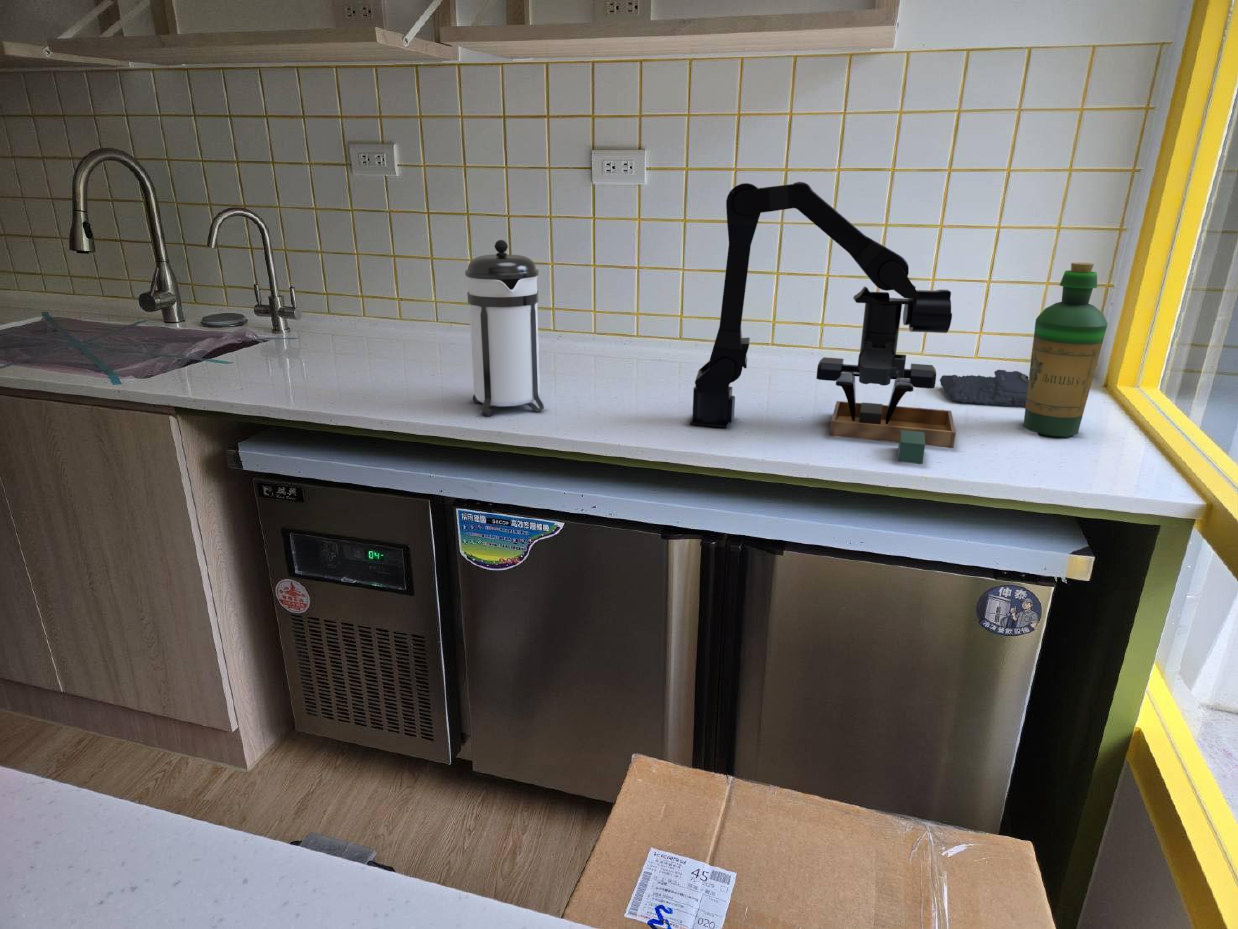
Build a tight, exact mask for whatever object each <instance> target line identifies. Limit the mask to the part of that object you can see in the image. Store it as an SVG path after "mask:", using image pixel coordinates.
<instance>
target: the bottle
mask: <svg viewBox="0 0 1238 929" xmlns="http://www.w3.org/2000/svg"><path fill="white" fill-rule="evenodd" d="M1093 268H1094V263H1090V262H1071V263H1070V269H1069V270H1065V271H1064V273H1063V275H1062V278H1061V280H1060V283H1059V287H1062V292H1061V301H1059V302H1054V303H1053V304H1051V305H1049V306H1047V307H1045V308H1044V309H1043V310H1042V311H1041V312H1040V313H1039V315H1038V316H1037V317H1036V319H1035V323H1034V332H1033V340H1032V349H1031V356H1030V357H1031V358H1030V365H1029V375H1028V377H1029V378H1028V379H1029V382H1028V390H1027V399H1026V407H1024V408H1025V409H1024V416H1023V424H1022V426H1023V427H1024V428H1025V429H1027V430H1028V431H1031V432H1034V433H1037V435H1040V436H1045V437H1051V438H1068V437H1072V436H1075V435H1078V434H1079V431H1080V428H1081V423H1082V419H1083V416H1084V412H1085V410H1086V409H1085V408H1086V405H1087V402H1088V398H1089V394H1090V390H1091V388H1092V383H1093V379H1094V376H1095V372H1096V368H1097V366H1098V361H1099V358H1100V353H1101V350H1102V346H1103V343H1104V339H1105V336H1106V331H1107V328H1108V324H1109V323H1108V320H1107V318H1106V316H1105V314H1104V313H1103V312H1102V311H1101V310H1100V309H1099V308H1098V307H1096V306H1095V305H1094V304H1090V299H1091V296H1092V293H1093V290H1094V289H1097V288H1098V272H1096V271H1092V270H1093Z"/></svg>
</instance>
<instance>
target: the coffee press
mask: <svg viewBox="0 0 1238 929" xmlns="http://www.w3.org/2000/svg"><path fill="white" fill-rule="evenodd" d="M508 247H509V246H508V243H507V241H505V240H503V239H499V240H497V241H496V242H495V243H494V249H495V251H496V252H497V253H495V254H485V255H480V256H476V257H474V258H473V259H472V260H471V261H469V263H468V266H467V269H466V270H465V271H464V274H465V275H464V276H465V277H466V279H467V286H468V292H467V294H466V295H467V304H468V305H469V306H468V308H469V321H470V338H471V339H470V342H471V359H472V377H473V390H474V394H473V396H472V401H473V402H474V404H479V403H482V408H481V410H480V411H481V415H482V416H487V417H491V416H492V415H493V413H494V410H495V409H496V408H497V407H517V406H523V405H527V406H529V407H530V408H531V409H532V411H534V412H536V413H539V412H541V411H543V410H544V408H545V406H544V403H543V402H542V400H541V398H540V397H539V396H540V392H541V390H540V348H539V346H540V345H539V314H538V309H539V308H538V303H539V301H540V300H539V299H540V298H539V291H538V277H539V275H540V270H539V269H538V268H537V266H536V264H535V261H533V260H532V259H531V258H529V257H527V256H524V255H520V254H509V253H507V252H506V251H507V250H508ZM534 401H535V403H536V404H537V405H536V404H535V403H533V402H534Z"/></svg>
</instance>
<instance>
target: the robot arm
mask: <svg viewBox="0 0 1238 929" xmlns="http://www.w3.org/2000/svg"><path fill="white" fill-rule="evenodd" d="M725 203H726V204H725V208H726V223H727V224H726V225H727V236H728V237H727V238H728V249H727V256H726V266H725V274H724V283H723V292H722V300H721V311H720V318H719V326H718V330H717V333H716V337H715V340H714V343H713V347H712V350H711V353H710V357H709V360H708V361H707V362H706V363H705V364H704V365H703V366H702V367H701V368H699V369H698V371H697V374H696V378H695V380H694V387H693V394H692V417H691V419H690V420H689V425H692V426H702V427H710V428H711V427H712V428H721V429H726V428H727V427H728V426H729V425H730V424H731V422H733V420H734V419H735V409H736V408H735V407H736V396H735V395H733V386H730V385H731V383H735V381H737V380H738V379H739V378H741V375H742V371H743V368H744V369H747V368H748V357H747V356H748V355H747V354H748V351H749V348H750V347H749V346H750V341H751V338H750V337H743V332H742V322H743V321H742V320H743V313H744V305H745V297H746V289H747V288H746V287H747V281H748V273H749V264H750V257H751V256H750V255H751V248H752V243H753V239H754V237H755V233H756V229H757V226H758V223H759V220H760V216H761V214H762V213H770V212H777V211H784V210H790V209H796V210H798V211H799V212H800V213H801V214H802V215H803V216H804V217H805V218H807V219H808V220H809V221H810V222H811V223H813V225H815V226H816V227H818V228H819V229H820V230H821V231H822V232H823V233H824V234H826V235H827V236H828V237H829V238H830V239H831V240H833V241H834V242H835V243H837V244H838V246H840V247H841V248H842V249H844V251H846V252H847V253H848V254H849V256H850V257H851V258H852V259H853V260H854V262H855V263H856V264H857V265H858V267H859V268H860V269H861V270H862V273H864V274H865V275H866V277H867V278H868V279H869V280H870V281H871V282H872V284H874V286H875V287H877V288H878V289H879V290H881V291H870V290H869V288H868V287H867V286H863V288H862V289H861V290H860V291H859V292H858V293H856V294H855V295H853V297H852V298H853V300H854V302H855V303H856V304H864V313H863V321H862V330H861V340H860V348H859V354H858V358H857V359H858V360H857V364H848V363H844V360H845V359H844V358H840V357H826V356H824V357H823V358H821V359H820V360H819V362H818V364H817V368H816V377H815V378H816V380H819V381H830V382H835V386H836V387H841V388H842V390H843V392H844V395H845V398H846V400H847V401H846V402H848V405H849V409H850V414H851V418H852V421H855V413H856V403H857V401H856V400H857V399H856V377H858V382H859V383H860V384H862V385H868V384H872V385H880V386H889V385H890V384H891V381H892V380H894V382H893V385H892V390H891V393H890V394H891V395H890V398H889V402H888V404H887V405H888V409H887V414H886V422H885V424H888V423H889V421H890V419H891V416H892V414H893V412H894V410H895V408H896V406H898V405H899V403H900V401H901V400H902V398H903V397H904V396H905V394H906V393H907V392H909V393H910V392H911V393H912V392H914V388H918V389H930V390H932V389H935V388H936V383H937V382H936V381H937V369H936V368H935V367H934V365H933V364H925V363H910V367H909V368H906V360H907V354H902V353H901V354H899V353H897V351H898V350H897V349H898V342H899V333H900V325H901V317H902V324H903V326H908V330H909V332H911V333H934V334H935V333H936V334H947V333H948V332H949V330H950V328H951V324H952V320H953V312H952V301H951V300H952V299H951V296H952V292H951V291H950V290H949V289H936V290H932V289H931V290H928V289H926V290H925V289H916V288H917V287H916V286H915V285H914V284H913V283H912V281H911V279H910V278H909V277H908V276H909V274H910V272H909V268H910V267H909V264H908V263H909V262H907V260H906V259H905V258H904V257H903V256H901V255H900V254H898V253H897V252H895V251H893V250H892V249H890V248H888V247H886V246H885V245H883V244H881V243H880V242H877V241H876V240H874V239H873V238H871V237H869V236H867V235H865V234H864V233H863V232H862V231H861V230H860V229H858V228H857V227H856V226H855V225H853V223H851V222H850V221H849V220H848V219H846V217H845V216H843V215H842V214H841V213H840V212H838V211H837V210H836V209H835V208H834V207H833V206H831V205H830V204H829V203H828V202H826V200H824V199H823V198H822V197H821V196H820V195H818V193H816V192H815V191H814V190H813V189H812V187H811V185H810V184H808V183H806V182H803V181H796V182H794V183H790V184H783V185H772V186H765V187H758V186H756V185H755V184H753V183H749V182H743V183H739V184H738V185H734V187H733V188H731V190H730V191H729V192H728V194H727V197H726V200H725ZM888 291H894V292H896V293H897V294H898V295H900V296H901V298H900V297H899V298H898V297H890V293H889V292H888ZM903 305H904V306H903ZM902 307H903V308H902ZM902 310H903V312H902Z"/></svg>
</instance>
